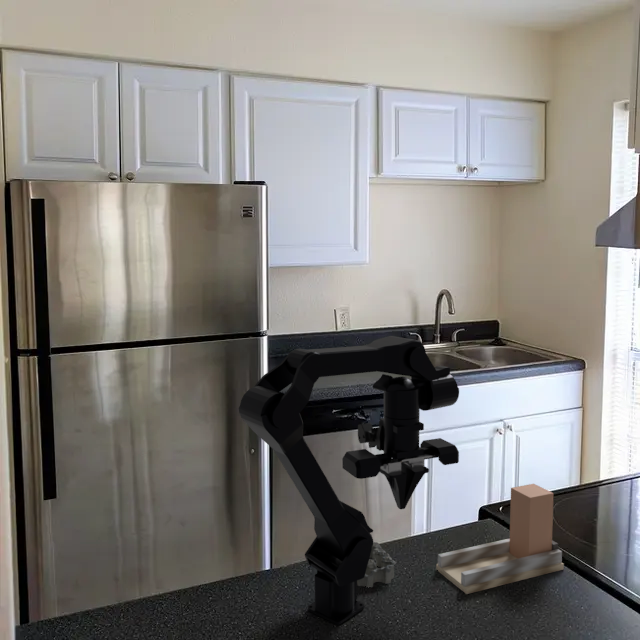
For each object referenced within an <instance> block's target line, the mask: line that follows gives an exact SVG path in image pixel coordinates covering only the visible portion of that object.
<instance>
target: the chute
mask: <svg viewBox="0 0 640 640" xmlns="http://www.w3.org/2000/svg"><path fill="white" fill-rule="evenodd" d="M509 549H510V537H509V538H506V539H501V540H497V541H493V542H487V543H482V544H479V545H474V546H470V547H465V548H460V549H456V550H451V551H447V552H443V553H438V554H437V563H436V564H435V565H436V569H435V570H436V571H437V570H438V571H437V572H439V573H440V574H441V575H442V576H444V578H446V579H447V580H448V581H449V582H450V583H452V584H453V585H454V586H456V587H457V588H458V589H460V591H462V592H464V594H465V595H468V594H472V593H477V592H481V591H484V590H488V589H493V588H496V587H499V586H502V585H503V586H504V585H508V584H511V583H515V582H519V581H523V580H528V579H530V578H535V577H540V576H543V575H547V574H551V573H554V572H559V571H562V570H564V569H565V568H564V565H565V563H563V562H562V561H563V558H562V557H563V550H560V549H559V543H558V542H556V541H554V540H553V539H552V551H548V552H544V553H539V554H535V555H531V556H527V557H523V558H519V559H518V558H516V557H515V556H513V555H512V554H510V553H509Z"/></svg>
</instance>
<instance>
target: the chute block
mask: <svg viewBox="0 0 640 640" xmlns="http://www.w3.org/2000/svg"><path fill="white" fill-rule="evenodd" d="M509 508H510V510H509V512H510V513H509V515H510V517H509V520H510V521H509V538H510V549H509V553H510V554H512V555H513V556H515V557H516V558H518V559H519V558H523V557H527V556H531V555H535V554H539V553H544V552H548V551H552V540H553V527H554V526H553V522H554V520H553V518H554V492H552V491H550V490H548V489H546V488H544V487H541V486H540V485H537V484H535V483H529V484H524V485H520V486H518V485H517V486H515V487H514V486H513V487H510V507H509Z"/></svg>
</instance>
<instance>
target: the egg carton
mask: <svg viewBox="0 0 640 640" xmlns="http://www.w3.org/2000/svg"><path fill="white" fill-rule="evenodd" d="M373 543H374V544H373V546H372V550H371V554H370V558H369V562H368V565H367V569H366V573H365V576H364V578H362V579H360V580H357V587H365V586H366V587H365V588H367V587H368V588H367V589H369V587H371V588H373V587H374V584H376V583H384V584H386V585H387V584H392V580H394V578H395V565H396V564H397V563H398V561H395V560H393V559H392V558H393V557H391V556H390V554H389V553H387V552H386V550H384V549H383V548H382V545H380V543H378V542H374V541H373ZM377 566H378V567H377Z"/></svg>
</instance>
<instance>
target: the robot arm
mask: <svg viewBox="0 0 640 640" xmlns="http://www.w3.org/2000/svg"><path fill="white" fill-rule="evenodd" d="M374 372H377V373H382V374H381V375H380V378H378V380H376V381H375V382H374V383H373V384H372V389H373V390H377V391H380V392H383V417H382V418H379V422H378V426H377V427H373V424H372V423H371V422H367V423H361V424H358V425H357V438H358V439H357V440H358V442H359V443H360V444H367V443H368V448H370V449H372V448H373V449H374V448H376V450H378V451H379V452H380V451H382V452H383V453H378V454H374V453H372V452H371V451H369V450H368V449H366V448H364V449H356V450H351V451H350V450H349V451H346V452H345V454H344V455H343V457H342V458H341V459H342V469H343V470H344V471H346V472H347V473H348V474H350V475H351V476H353V477H354V478H355V479H358V480H359V479H360V480H362V479H367V478H368V479H369V478H375V477H377V476H378V475H379V473H380V474H382V475H384V477H385V478H386V480H387V483H388V484H389V487H390V490H391V493H392V496H393V498H394V502H395V503H396V507H397V508H398V509H399V510H404V509H406V508H407V505H408V504H409V501H410V499H411V497H412V495H413V494H414V492H415V490H416V488H417V487H418V484H419V483H420V481H421V480H422V479H423V476H424V475H425V474H428V473H429V472H430V469H429V468H428V466H425V460H429V459H435V458H438V462H440V463H441V464H442V465H443V466H449V465H454V464H458V463H459V462H460V461H459V459H460V452H459V449H458V447H457V446H456V445H455V444H453V443H451V442H449V441H447V440H445V439H442V438H441V437H438V438H432V439H424V440H422V441H421V443H420V431H424V429H425V428H424V427H425V425H424V423H423V422H421V421H420V410H421V411H423V412H425V411H431V410H436V409H441V408H445V407H450V406H453V405H455V403H457V402H458V399H459V395H460V388H459V387H458V383H457V381H456V379H455V378H454V376H453V375H451V368H450V367H449V366H444V365H438V366H434V363H432V361H431V359H430V357H429V356H428V354H427V350H426V348H425V346H424V344H423V342H422V341H421V340H419V339H418V340H417V339H412V338H404V337H401V336H400V337H399V336H396V335H388V336H385V337H381V338H377V339H374V340H373V341H371V342H370V343H368V344H364V345H355V346H353V345H352V346H340V347H339V346H338V347H326V348H312V349H304V348H296V349H293V350H292V351H290V352H289V353H288V354H287V355H286V356H285V358H284V359H283V360H281V362H280V363H279V364H278V365H276V366H274V367H273V368H272V369H271V370H269V371H268V372H266V373H265V374H263V376H262V377H260V379H259V380H258V381H257V383H255V385H254V386H253V387H251V388H249V389H248V390H247V391H245V393H244V394H243V396H242V398H241V399H240V402H239V406H238V413H239V416H240V418H241V420H243V421H244V423H245V424H246V425H247V426H248V427H249V428H250V429H251V431H253V433H254V434H255V435H257V437H259V438H260V439H261V440H262V441H264V442H265V443H266V444H267V445H268V446H269V447H270V448H271V449H272V451H274V453H275V455H276V456H277V458H278V459H279V461H280V463H281V464H282V466H283V467H284V470H286V473H287V474H288V476H289V478H290V479H291V481H292V483H293V484H294V486H295V487H296V489H297V491H298V492H299V494H300V496H301V497H302V499H303V501H304V502H305V503H306V506H307V507H308V509H309V511H310V512H311V513H312V517H314V524H313V525H314V526H313V527H314V528H313V529H314V532H315V538H314V540H313V541H312V543H311V544H310V546H309V547H308V548H307V550H306V551H305V553H304V557H305V561H306V563H307V565H308V566H310V567H312V568H314V569H315V570H316V574H314V576H313V577H314V601H313V602H312V603H310V604H309V605H307V608H306V609H307V611H309V612H310V613H313V614H314V615H316V616H318V617H321V618H322V619H325V621H326V620H327V621H328V622H331V623H332V624H335V625H341V624H343V623H344V622H345V621H347V620H348V619H350V618H352V617H353V616H355V615H356V614H358V613H359V612H361V611H362V610H364V608H365V604H364V603H363V602H360V601H359V600H357V599H358V585H357V580H360V579H362V578H364V576H365V573H366V569H367V565H368V562H369V559H371V558H370V554H371V550H372V546H373V544H374V543H373V542H374V538H373V536H372V533H373V532H374V529H373V528H371V527H370V526H369V525H368V523H367V520H366V517H365V515H364V513H363V512H362V511H361V510H359V509H357V508H355V507H353V506H351V505H349V504H347V503H345V502H343V501H341V500H340V499H339V497H338V495H337V494H336V492H335V490H334V489H333V487H332V485H331V483H330V481H329V480H328V478H327V476H326V474H324V471H323V469H322V468H321V466H320V465H319V462H318V461H317V460H316V457H315V456H314V454H313V452H312V450H311V449H310V447H309V445H308V443H307V442H306V441H305V438H304V422H303V419H302V415H301V412H302V411H303V410H304V409H305V407H306V406H307V405H308V404H309V401H310V398H311V395H312V392H313V389H314V385H315V383H316V382H317V381H318V380H319V378H323V377H333V376H334V377H335V376H345V375H353V374H354V375H355V374H364V373H365V374H367V373H374ZM385 373H386V374H385ZM389 374H392V375H398V376H397V377H393V376H392V375H389ZM408 377H410V378H408ZM288 386H290V387H289V388H288V389H287V390H286V392H282V391H283V390H285V388H287V387H288Z"/></svg>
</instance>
